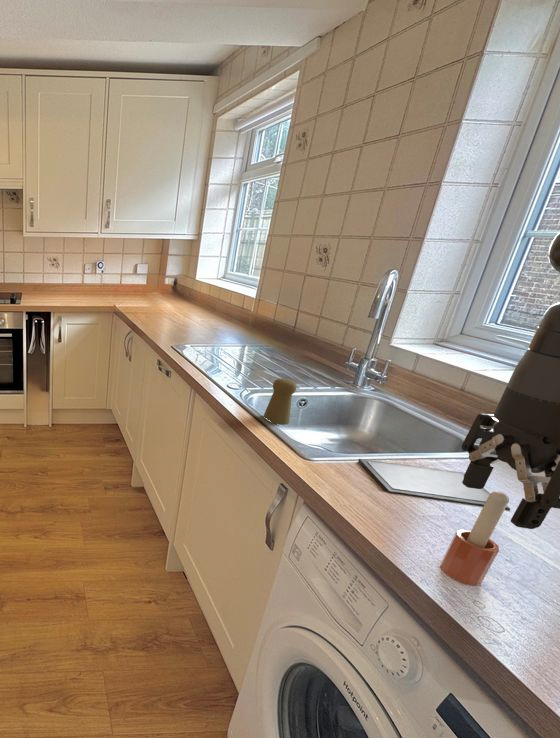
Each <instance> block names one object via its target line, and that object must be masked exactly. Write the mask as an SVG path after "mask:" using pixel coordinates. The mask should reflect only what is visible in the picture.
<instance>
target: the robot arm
mask: <svg viewBox="0 0 560 738" xmlns="http://www.w3.org/2000/svg"><path fill="white" fill-rule="evenodd" d="M548 262H549V264H550V266H551V268H552V269H553V270H555V272H557V273H559V274H560V231H559V233H557V235H556V236H555V237H554V239H553V240H552V242H551V244H550V246H549V249H548ZM480 439H481V440H480ZM477 440H480V442H479V444H477V443H476V442H477ZM461 450H462V451H463V452H467V453H468V460H469V461H470V462H469V464H468V466H467V468H466V470H465V472H464V473H465V474H464V479H463V481H462V483H463V484H464V485H465V486H466V487H468V488H475V489H482V488H484V489H485V486H486V484H487V482H488V480H489V478H490V476H491V475H492V472H493V470H494V468H495V466H493V465H494V464H496V463H499V462H503V463H506V464H507V465H508V466H509V467H510V468H511V469H513V470H514V471H516V478H517V480H518V481H519V482H520V483H522V486H523V492H524V497H523V498H521V500H520V502H519V504H518V505H517V507H516V509H515V511H514V513H513V515H512V517H511V519H510V523H511V524H513V526H515V527H517V528H521V529H528V530H535V529H537V528H539V527H541V526H542V524H543V522H544V520H545V519H546V517H547V515H548V514H549V512H550V510H551V509H559V510H560V302H557V303H553V304H552V305H550V306H549V307H548V308H547V310H546V311H545V312H544V314H543V316H542V318H541V319H540V322H539V324H538V326H537V328H536V330H535V332H534V334H533V336H532V339H531V340H530V342H529V345H528V346H527V349H526V351H525V352H524V354H523V356H522V357H521V358H520V360H519V361H518V362H517V364H516V366H515V367H514V369H513V372H512V374H511V376H510V378H509V380H508V383H507V384H506V386H505V389H504V391H503V393H502V395H501V397H500V399H499V402H498V404H497V406H496V408H495V409H494V411H493V414H492V413H491V414H490V413H477V415H476V417H475V418H474V420H473V423H472V425H471V426H470V428H469V430H468V432H467V434H466V436H465V438H464V440H463V442H462V444H461ZM543 472H544V476H542V475H535V474H540V473H543ZM539 485H540V486H541V487H542V491H543V493H542V492H539V487H538V486H539Z"/></svg>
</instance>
